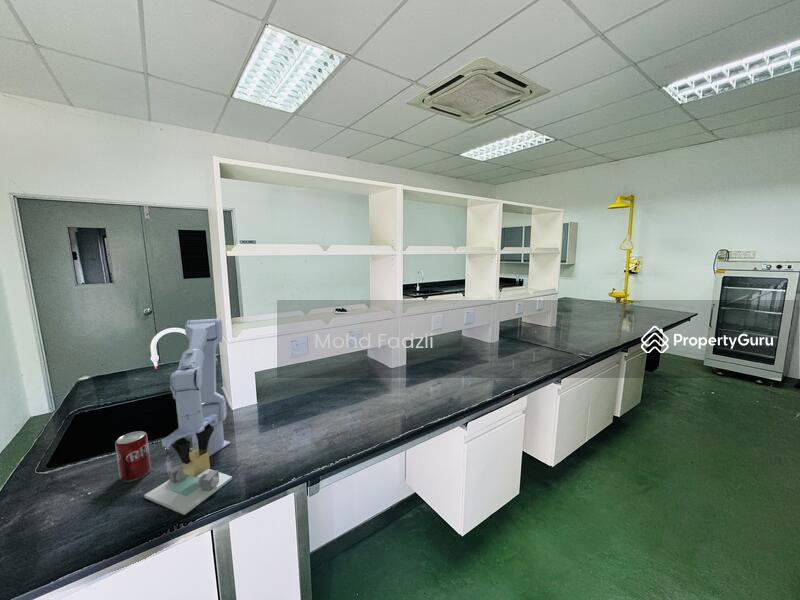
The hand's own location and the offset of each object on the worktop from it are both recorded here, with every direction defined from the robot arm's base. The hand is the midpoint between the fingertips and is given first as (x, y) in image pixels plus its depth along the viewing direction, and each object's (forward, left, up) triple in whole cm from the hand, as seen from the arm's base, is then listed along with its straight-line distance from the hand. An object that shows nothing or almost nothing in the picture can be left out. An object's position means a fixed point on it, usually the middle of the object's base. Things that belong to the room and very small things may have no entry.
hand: (194, 457), depth 89 cm
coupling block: (0, 0, -4) cm, 4 cm away
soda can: (-22, -4, -9) cm, 24 cm away
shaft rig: (-1, -2, -8) cm, 9 cm away
